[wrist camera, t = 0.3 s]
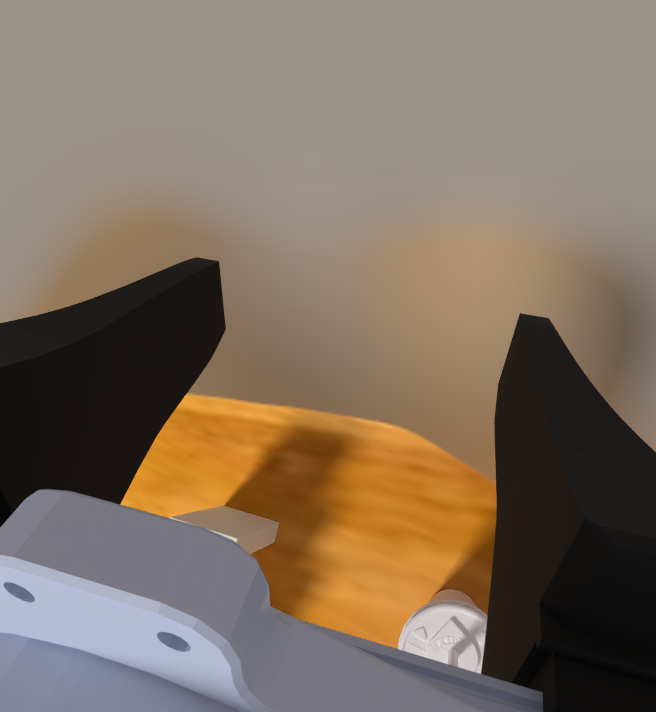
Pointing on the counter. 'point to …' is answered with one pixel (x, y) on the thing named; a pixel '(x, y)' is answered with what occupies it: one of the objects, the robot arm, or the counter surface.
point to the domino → (235, 526)
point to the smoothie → (447, 631)
